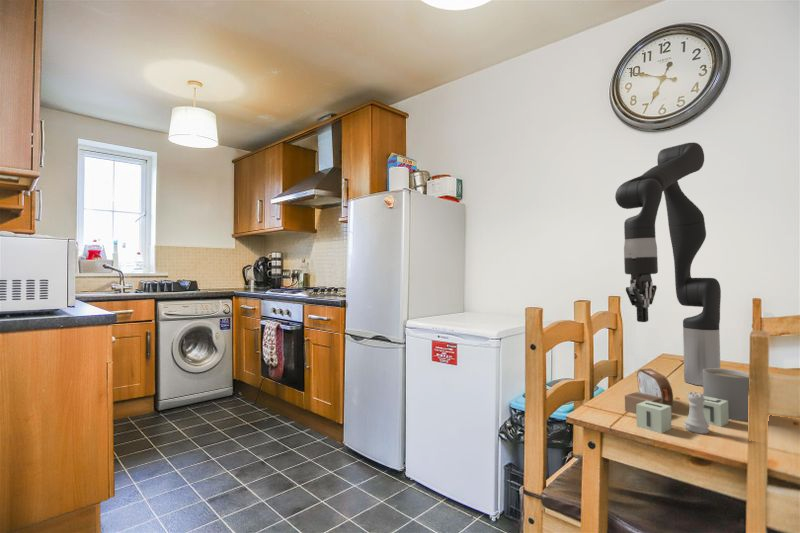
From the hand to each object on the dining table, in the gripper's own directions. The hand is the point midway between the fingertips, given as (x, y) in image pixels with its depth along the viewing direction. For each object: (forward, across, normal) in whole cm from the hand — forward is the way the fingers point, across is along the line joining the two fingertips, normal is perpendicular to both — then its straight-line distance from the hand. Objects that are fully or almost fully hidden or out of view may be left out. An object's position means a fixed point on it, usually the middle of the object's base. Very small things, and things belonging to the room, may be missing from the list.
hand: (642, 321), depth 105 cm
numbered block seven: (+22, +1, +15) cm, 26 cm away
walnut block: (+22, +7, +2) cm, 23 cm away
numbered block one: (+21, +16, +8) cm, 28 cm away
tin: (+22, -3, +1) cm, 22 cm away
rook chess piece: (+22, +10, +15) cm, 28 cm away
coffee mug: (+22, -10, +15) cm, 29 cm away
